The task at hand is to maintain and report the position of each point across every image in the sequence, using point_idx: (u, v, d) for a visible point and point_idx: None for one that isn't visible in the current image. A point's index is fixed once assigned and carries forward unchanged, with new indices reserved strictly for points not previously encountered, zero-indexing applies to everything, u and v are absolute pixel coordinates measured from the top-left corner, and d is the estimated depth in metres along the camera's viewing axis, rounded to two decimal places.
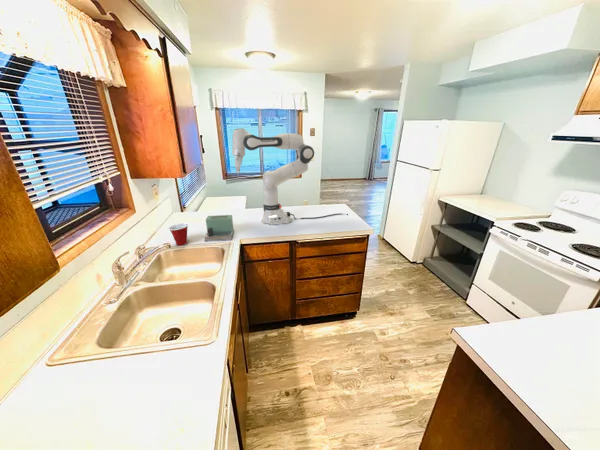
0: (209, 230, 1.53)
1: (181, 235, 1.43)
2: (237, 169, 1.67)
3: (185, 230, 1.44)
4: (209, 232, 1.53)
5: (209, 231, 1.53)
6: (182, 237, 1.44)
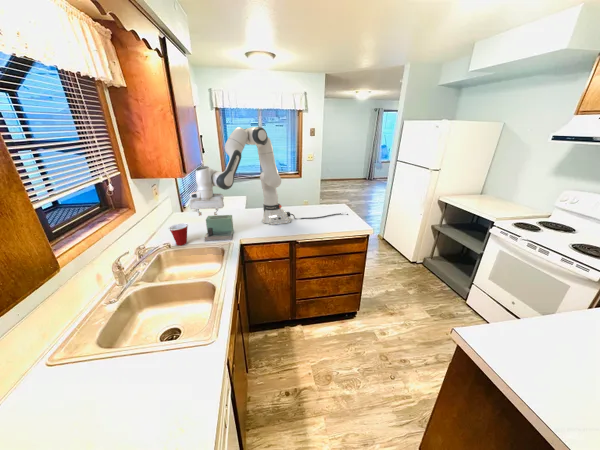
0: (209, 230, 1.53)
1: (181, 235, 1.43)
2: (217, 210, 1.51)
3: (185, 230, 1.44)
4: (209, 232, 1.53)
5: (209, 231, 1.53)
6: (182, 237, 1.44)
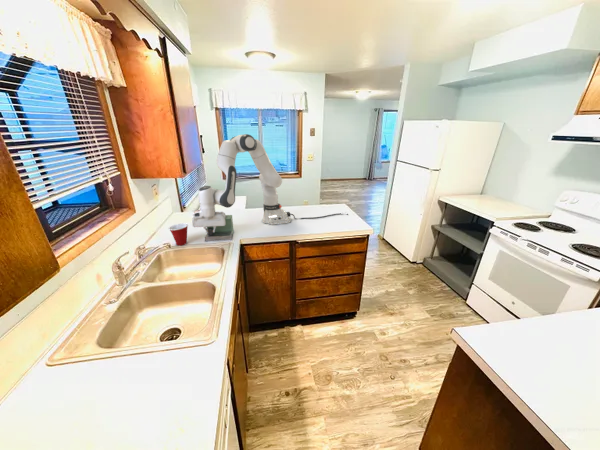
0: (209, 230, 1.53)
1: (181, 235, 1.43)
2: None
3: (185, 230, 1.44)
4: (209, 232, 1.53)
5: (209, 231, 1.53)
6: (182, 237, 1.44)
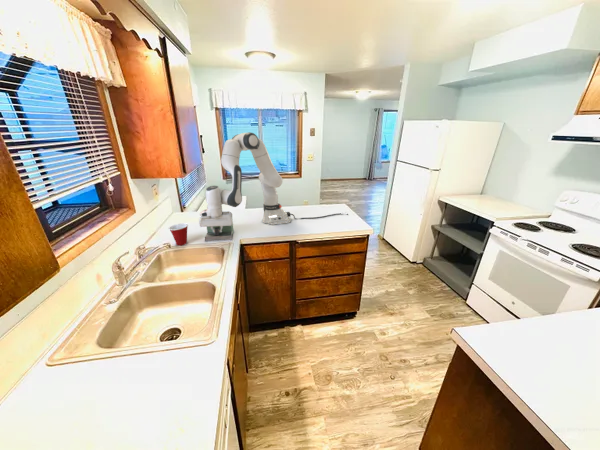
0: (216, 230, 1.53)
1: (181, 235, 1.43)
2: None
3: (185, 230, 1.44)
4: (216, 232, 1.54)
5: (216, 231, 1.54)
6: (182, 237, 1.44)
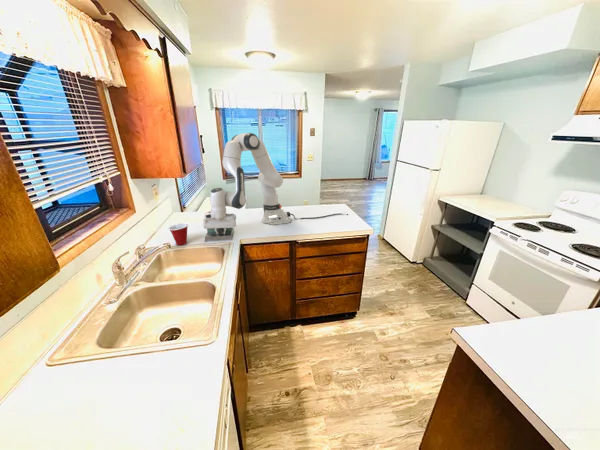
0: (219, 230, 1.54)
1: (181, 235, 1.43)
2: (225, 229, 1.56)
3: (185, 230, 1.44)
4: (219, 232, 1.54)
5: (219, 231, 1.54)
6: (182, 237, 1.44)
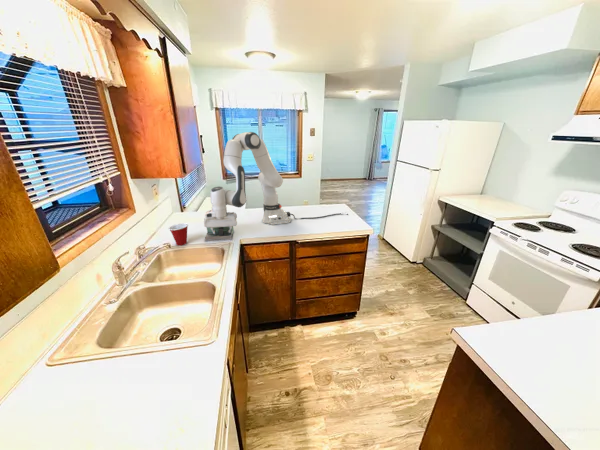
0: (220, 229, 1.54)
1: (181, 235, 1.43)
2: None
3: (185, 230, 1.44)
4: (220, 231, 1.54)
5: (220, 230, 1.54)
6: (182, 237, 1.44)
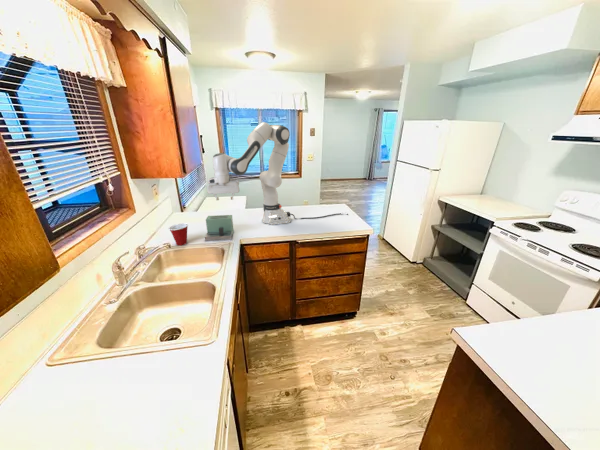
0: (220, 229, 1.54)
1: (181, 235, 1.43)
2: (233, 195, 1.60)
3: (185, 230, 1.44)
4: (220, 231, 1.54)
5: (220, 230, 1.54)
6: (182, 237, 1.44)
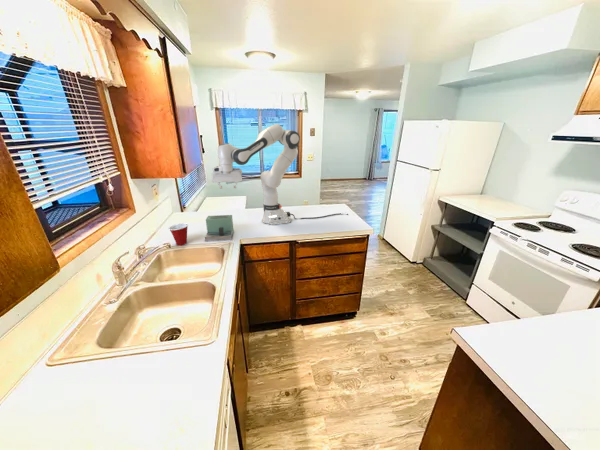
0: (220, 229, 1.54)
1: (181, 235, 1.43)
2: (236, 184, 1.67)
3: (185, 230, 1.44)
4: (220, 231, 1.54)
5: (220, 230, 1.54)
6: (182, 237, 1.44)
